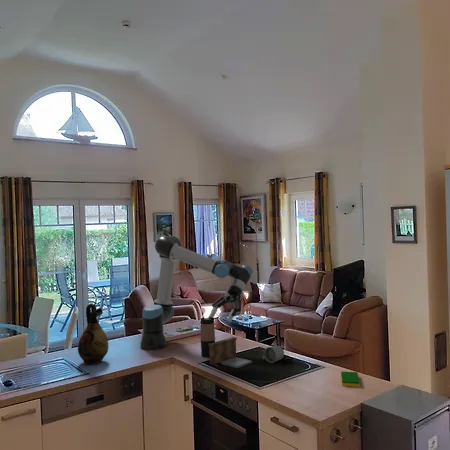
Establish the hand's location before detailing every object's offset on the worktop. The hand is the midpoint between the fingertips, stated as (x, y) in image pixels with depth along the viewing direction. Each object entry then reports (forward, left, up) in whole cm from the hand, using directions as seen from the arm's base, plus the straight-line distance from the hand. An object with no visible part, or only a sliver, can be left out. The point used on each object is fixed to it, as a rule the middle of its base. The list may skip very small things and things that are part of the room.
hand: (219, 319), depth 246 cm
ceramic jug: (-41, -54, -18) cm, 70 cm away
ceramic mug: (+31, +5, -18) cm, 37 cm away
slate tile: (+20, -10, -18) cm, 29 cm away
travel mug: (-1, -9, -18) cm, 20 cm away
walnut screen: (+11, -10, -18) cm, 23 cm away
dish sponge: (+76, +1, -19) cm, 79 cm away
